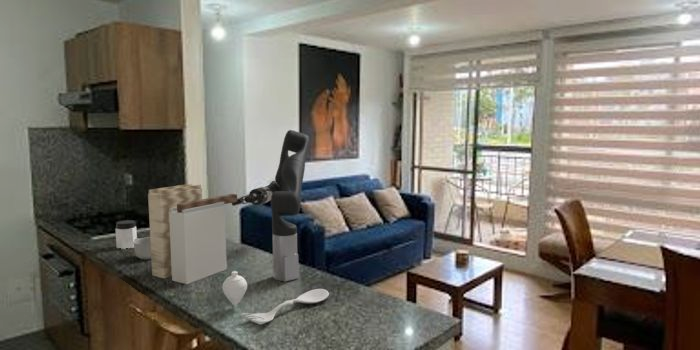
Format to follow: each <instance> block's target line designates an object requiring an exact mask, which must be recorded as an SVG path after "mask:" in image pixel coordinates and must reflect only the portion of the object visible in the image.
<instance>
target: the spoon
mask: <svg viewBox="0 0 700 350" xmlns="http://www.w3.org/2000/svg"><path fill="white" fill-rule="evenodd" d="M329 294H330V292H329V291H328V290H327V289H324V288H316V289H312V290H309V291H306V292H304V293H302V294H300V295H298V296H297V298H293V299H290V300H284V302H283V303H280V304H278V305H277V306H276V307H275V308H273V309H272V310H270V311H269V312H264V313H263V312H259V313H258V312H257V313H247V312H243V313H241V314H240V317H241V318H245V319H246V320H249V321H250V322H253V323H255V324H258V325H263V324H266V323H269V322H271V321H272V320H273V319H274V318H275V315H276V314H277V313H278V312H279V310H281V309H282V308H284V307H287V306H291V305H293V304H294V303H299V304H300V303H301V304H317V303H320V302H323V301H324V300H326V299H327V298H328V297H329Z"/></svg>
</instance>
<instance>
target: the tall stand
mask: <svg viewBox="0 0 700 350" xmlns="http://www.w3.org/2000/svg"><path fill="white" fill-rule="evenodd" d="M147 197H148V198H147V199H148V214H149V215H148V218H149V237H150V241H151V259H150V260H151V275H152V276H154V277H158V278H161V279H166V278H170V277H172V266H171V244H170V223H169V208H174V207H177V204H181V203H186V202H191V201H197V200H202V199H203V188H202V185H201V184H194V185H193V183H185V184H178V185H173V186H167V187H159V188H153V189H152V188H151V189H148V195H147Z"/></svg>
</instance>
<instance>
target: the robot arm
mask: <svg viewBox="0 0 700 350" xmlns="http://www.w3.org/2000/svg"><path fill="white" fill-rule="evenodd" d="M283 138H284V139H283V143H282V147H281V152H280V157H279V163H278V167H277V171H276V174H275V176H274V180H272V181H270V183H268V185H266V186H261V187H257V188H254V189H252V190H250V191H249V193H248V194H247V195H243V196H240V197H237V202H233V203H231V205H232V206H233V207H234V206H237V205H246V204H252V205H254V206H261V205H264V204H266V203H268V202H270V209H271V229H272V232H271V233H272V273H273V274H272V277H273V279H274V280H276V281H278V282H281V281H282V282H284V283H285V282H290V281H293V280H297V279H300V278H299V273H300V272H299V271H300V268H299V253H298V226H297V225H296V224H294V223H292V222H289V221H287V220H285V219H284V218H283V217H284V216H286V217H287V216H289V217H292V216H297V215H298V214H299V213H300V211H301V205H302V203H301V202H302V186H303V179H304V176H305V169H306V159H307V154H308V150H309V145H310V136H309V135H307V134H305V133H303V132H299V131H296V130H291V129H289V130H288V131H286V133H285V136H284V137H283ZM289 152H292V153H294V154H291V155H289ZM290 190H291V191H290ZM282 216H283V217H282Z"/></svg>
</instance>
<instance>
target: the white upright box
mask: <svg viewBox="0 0 700 350" xmlns="http://www.w3.org/2000/svg"><path fill="white" fill-rule="evenodd" d="M169 223H170V244H171V266H172V276H171V281H172V282H173V281H174V282H177V283H182V284H184V285H189V284H191V283H194V282H196V281H199V280H202V279H204V278H207V277H210V276H212V275H214V274H218V273H221V272H222V271H223V272H224V271H226V270H227V269H228V265H227V264H228V263H227V238H226V232H227V231H226V207H225V204H224V202H219V203H215V204H210V205H205V206H200V207H195V208H190V209H185V210H182V213H179V212H177V207H174V208H169Z"/></svg>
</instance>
